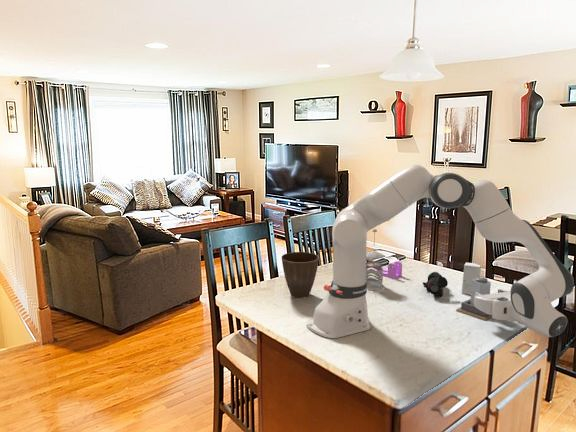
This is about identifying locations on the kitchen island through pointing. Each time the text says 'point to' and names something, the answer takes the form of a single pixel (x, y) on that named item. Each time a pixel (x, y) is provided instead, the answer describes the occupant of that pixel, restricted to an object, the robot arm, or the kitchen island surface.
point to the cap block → (479, 287)
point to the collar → (472, 310)
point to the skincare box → (470, 276)
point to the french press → (372, 282)
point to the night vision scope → (435, 284)
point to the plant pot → (300, 272)
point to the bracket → (393, 270)
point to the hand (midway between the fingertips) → (488, 292)
